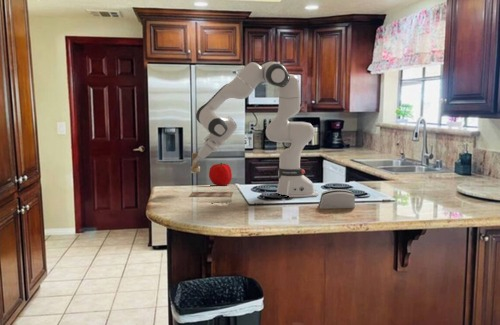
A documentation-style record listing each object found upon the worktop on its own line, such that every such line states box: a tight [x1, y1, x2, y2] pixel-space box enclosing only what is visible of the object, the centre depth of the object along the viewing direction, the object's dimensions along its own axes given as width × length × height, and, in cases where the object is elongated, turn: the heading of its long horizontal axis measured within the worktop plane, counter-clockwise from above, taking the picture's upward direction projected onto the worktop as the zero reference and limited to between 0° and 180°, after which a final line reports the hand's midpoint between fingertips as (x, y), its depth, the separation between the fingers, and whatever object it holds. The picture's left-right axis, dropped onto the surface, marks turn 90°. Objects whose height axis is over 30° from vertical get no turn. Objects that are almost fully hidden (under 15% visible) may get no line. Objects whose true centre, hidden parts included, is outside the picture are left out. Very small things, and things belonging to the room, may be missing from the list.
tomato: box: [208, 162, 233, 187], centre depth 256 cm, size 16×14×14 cm
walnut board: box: [188, 191, 234, 198], centre depth 224 cm, size 22×13×2 cm, turn 88°
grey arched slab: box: [318, 188, 356, 210], centre depth 199 cm, size 17×5×10 cm, turn 93°
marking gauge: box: [190, 152, 201, 174], centre depth 225 cm, size 4×6×10 cm
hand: (194, 161), depth 224 cm, fingers closed on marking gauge, 3 cm apart
